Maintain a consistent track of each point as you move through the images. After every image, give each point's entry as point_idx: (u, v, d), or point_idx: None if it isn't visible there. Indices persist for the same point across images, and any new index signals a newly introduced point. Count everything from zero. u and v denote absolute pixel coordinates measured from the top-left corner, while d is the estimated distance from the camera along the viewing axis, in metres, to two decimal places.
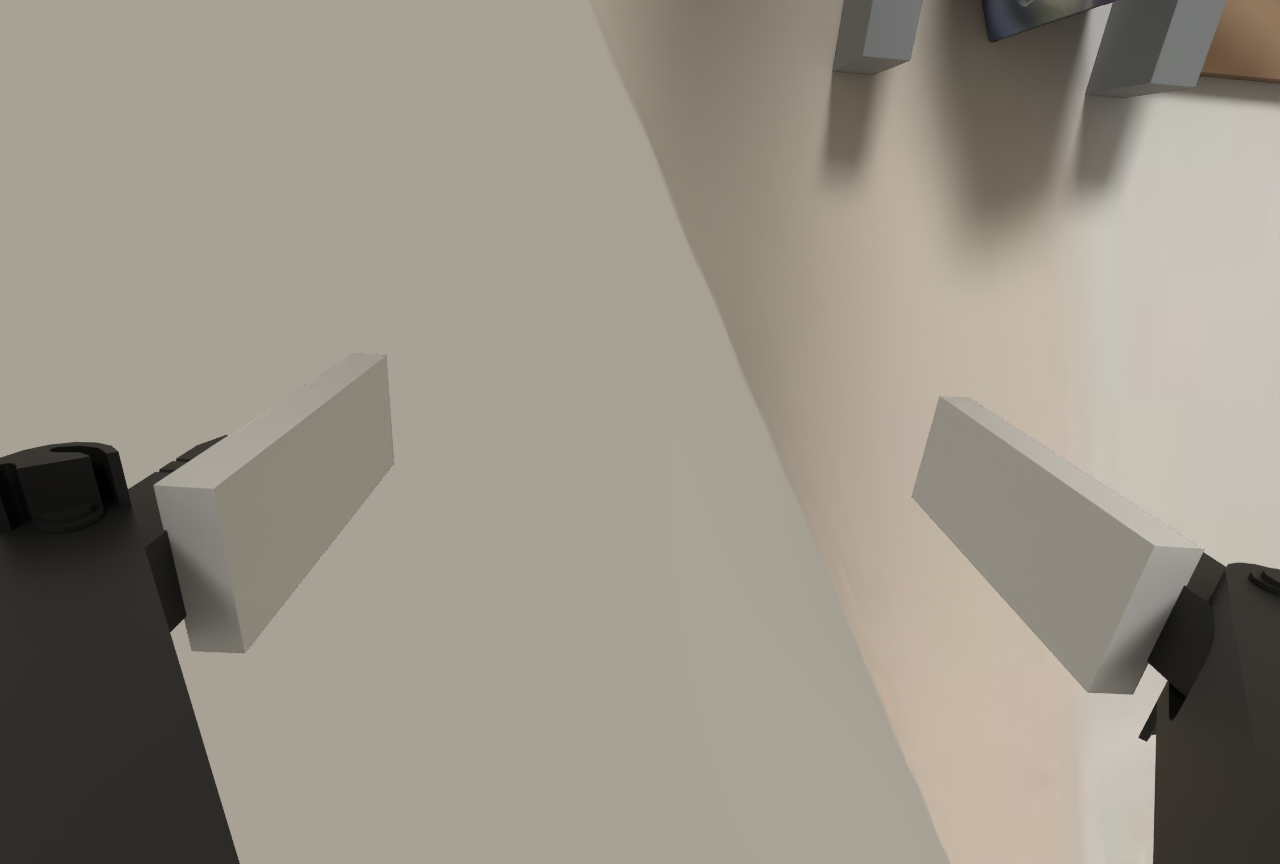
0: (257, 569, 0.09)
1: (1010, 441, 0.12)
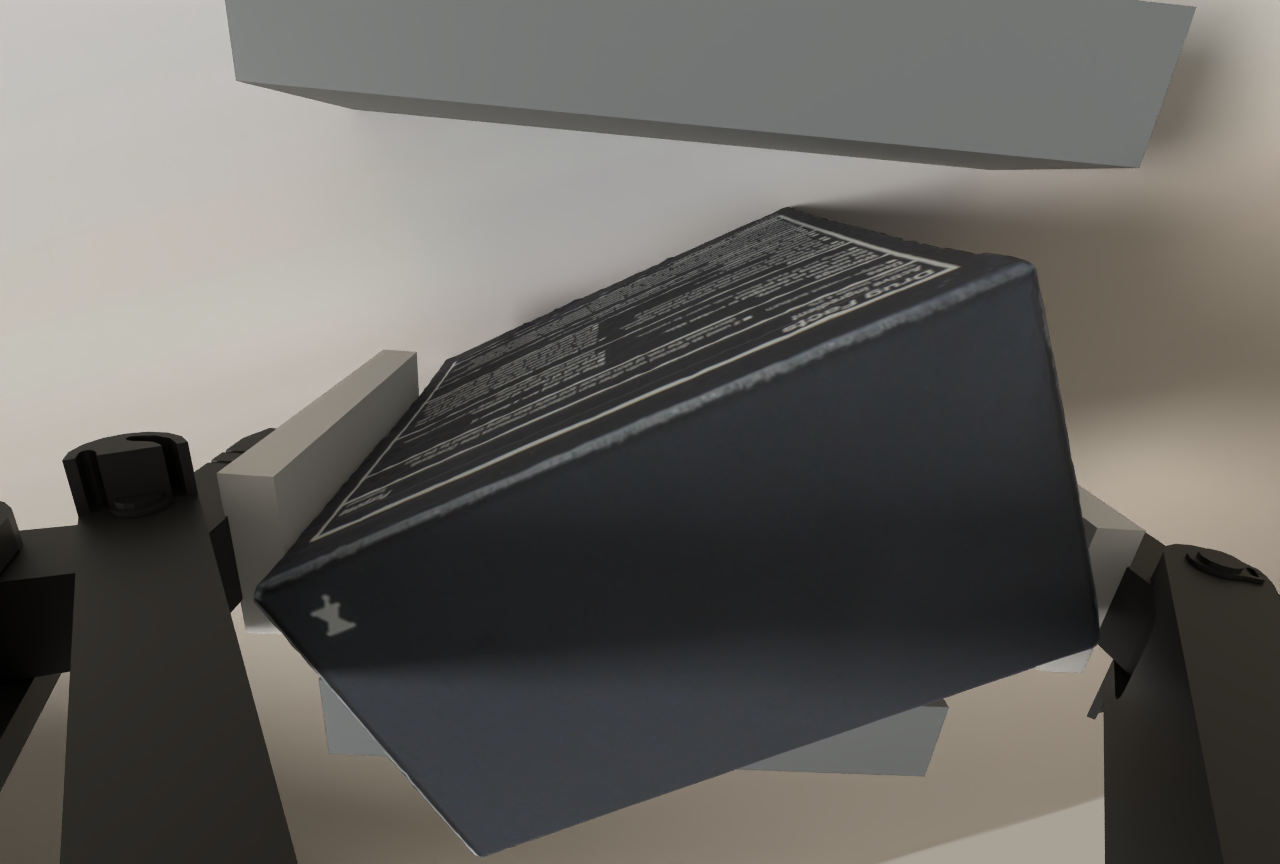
0: None
1: None
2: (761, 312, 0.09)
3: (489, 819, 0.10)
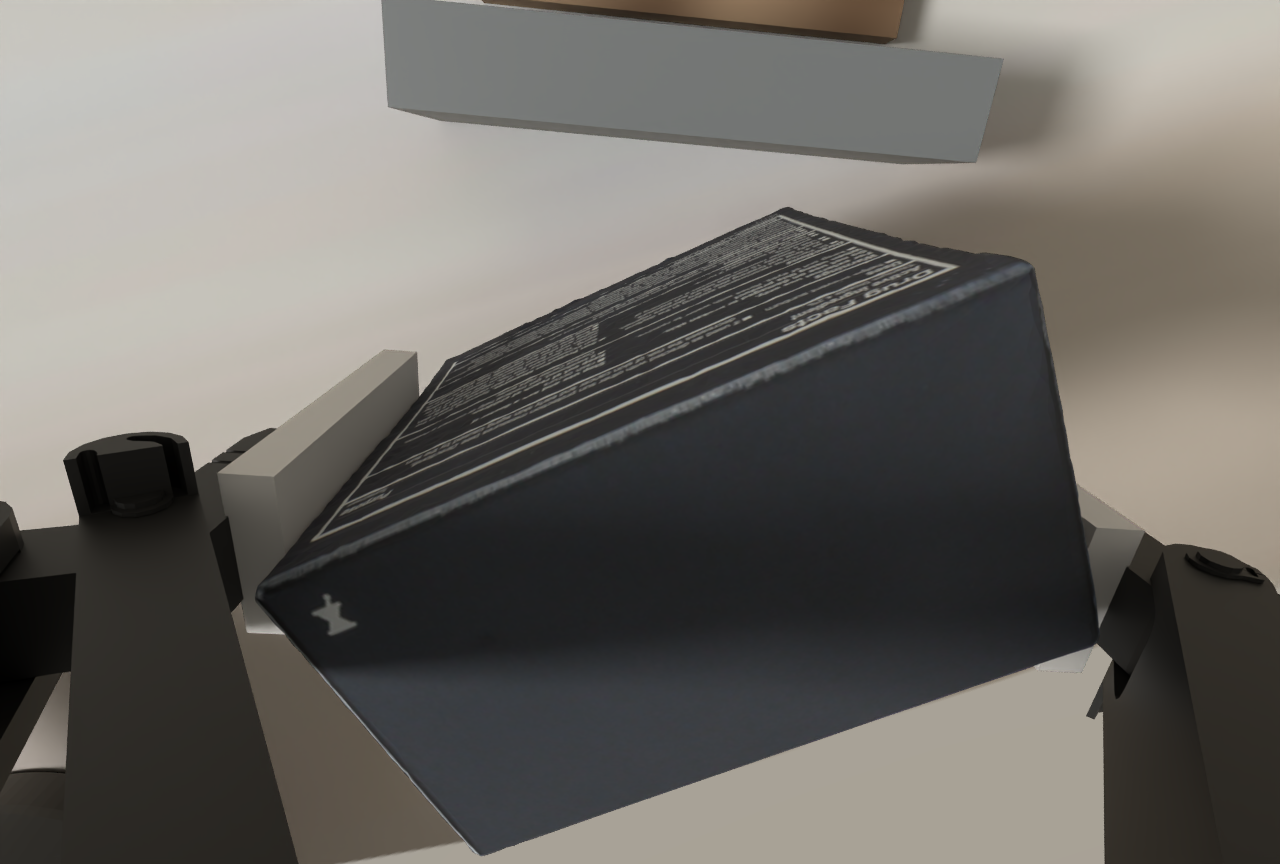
0: None
1: None
2: (761, 311, 0.09)
3: (490, 818, 0.10)
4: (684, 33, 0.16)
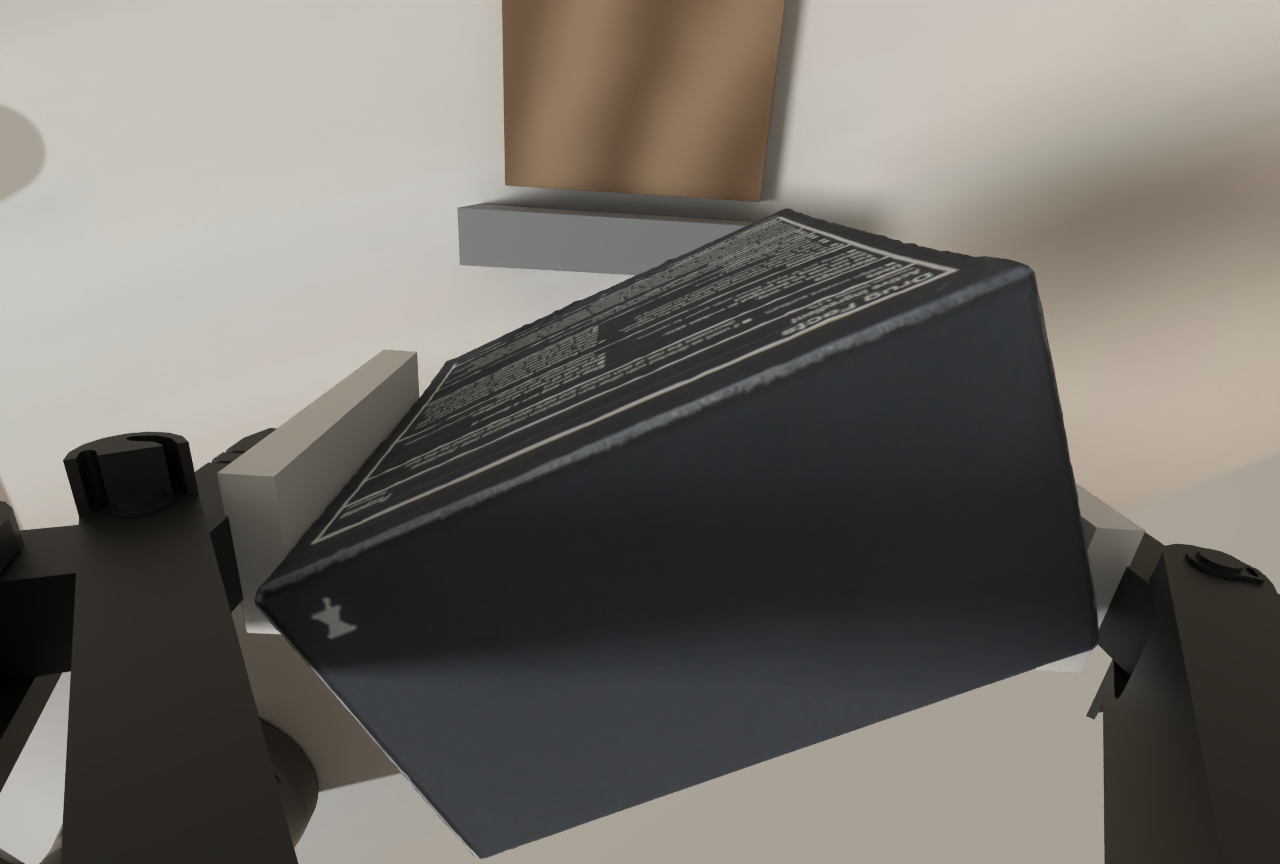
0: None
1: None
2: (760, 314, 0.09)
3: (490, 821, 0.10)
4: (626, 222, 0.29)
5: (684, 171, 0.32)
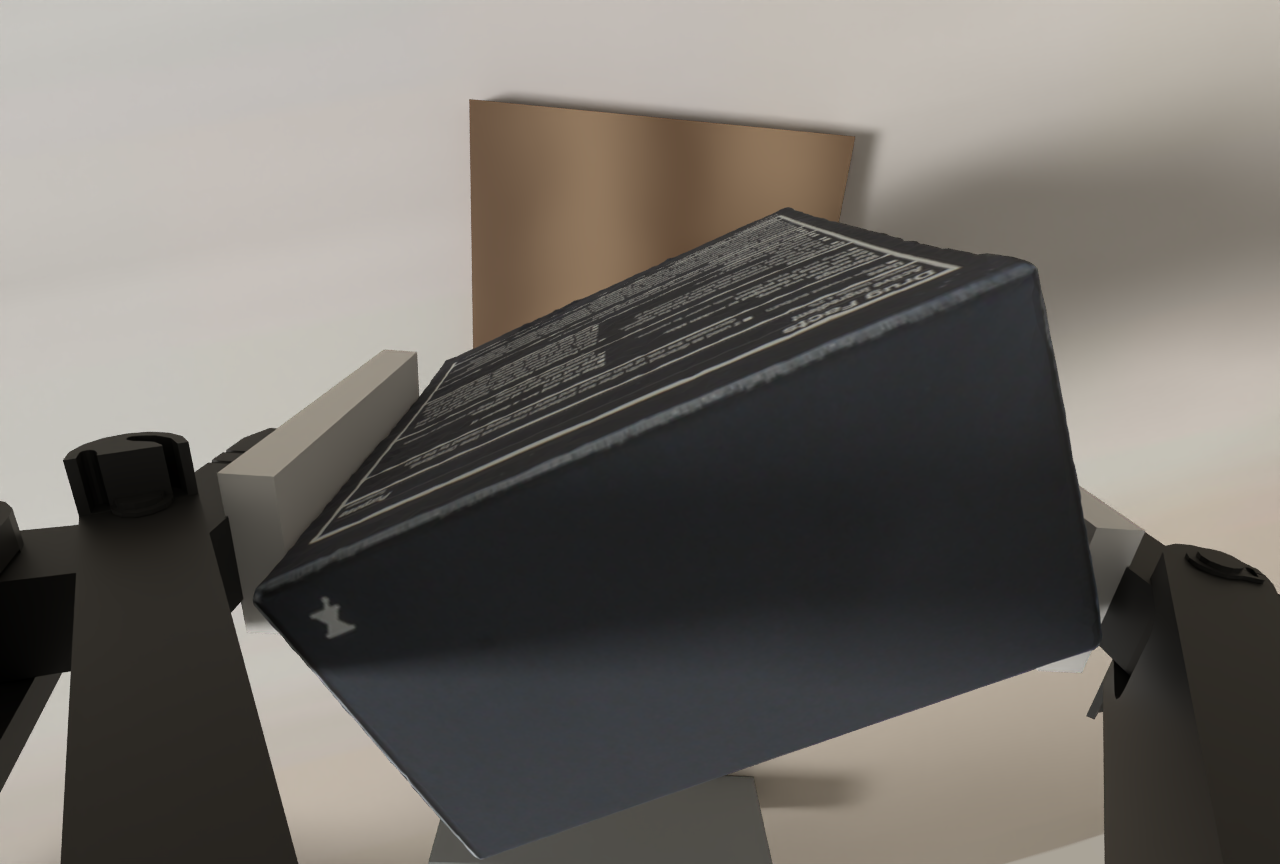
0: None
1: None
2: (762, 312, 0.09)
3: (489, 821, 0.10)
4: None
5: None
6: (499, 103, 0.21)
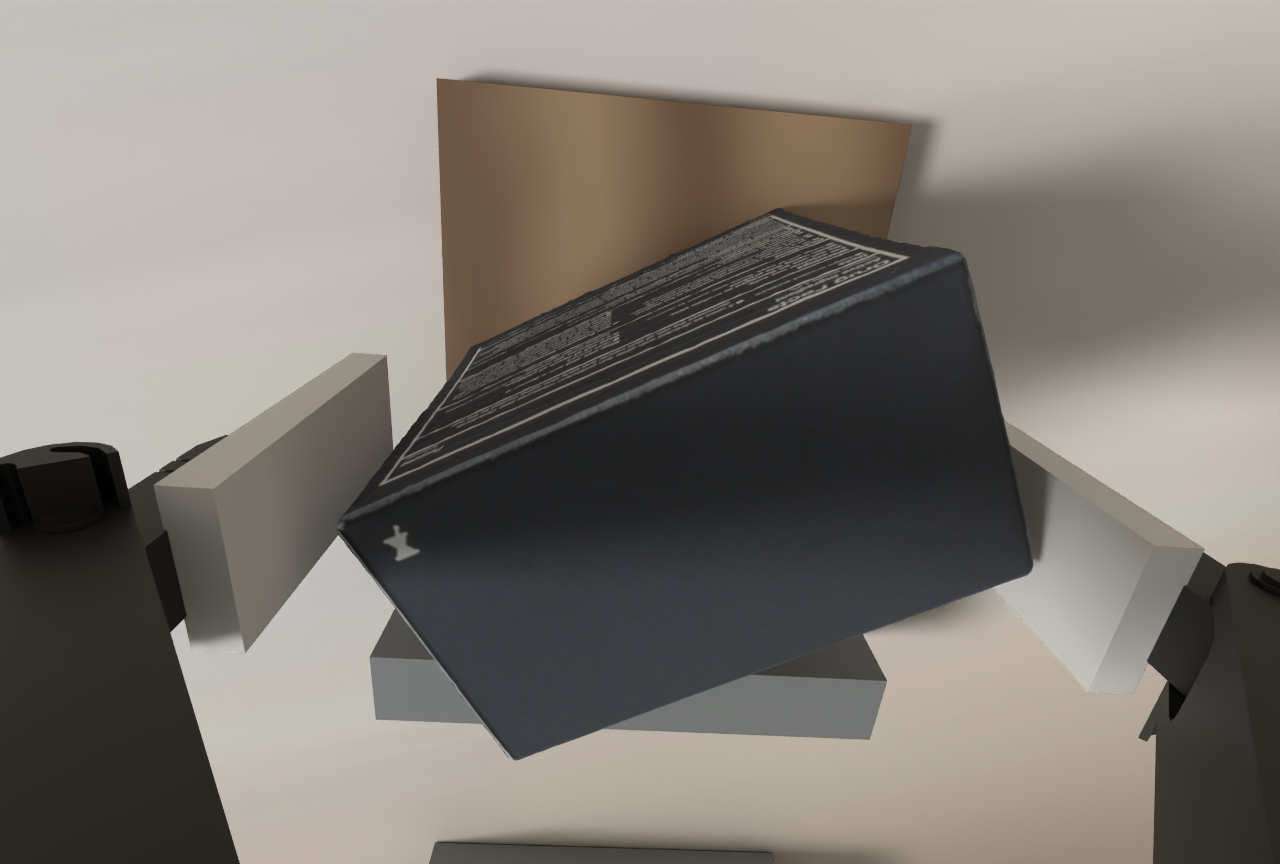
0: (257, 569, 0.09)
1: (1010, 441, 0.12)
2: (752, 296, 0.11)
3: (523, 725, 0.12)
4: None
5: None
6: (473, 83, 0.17)
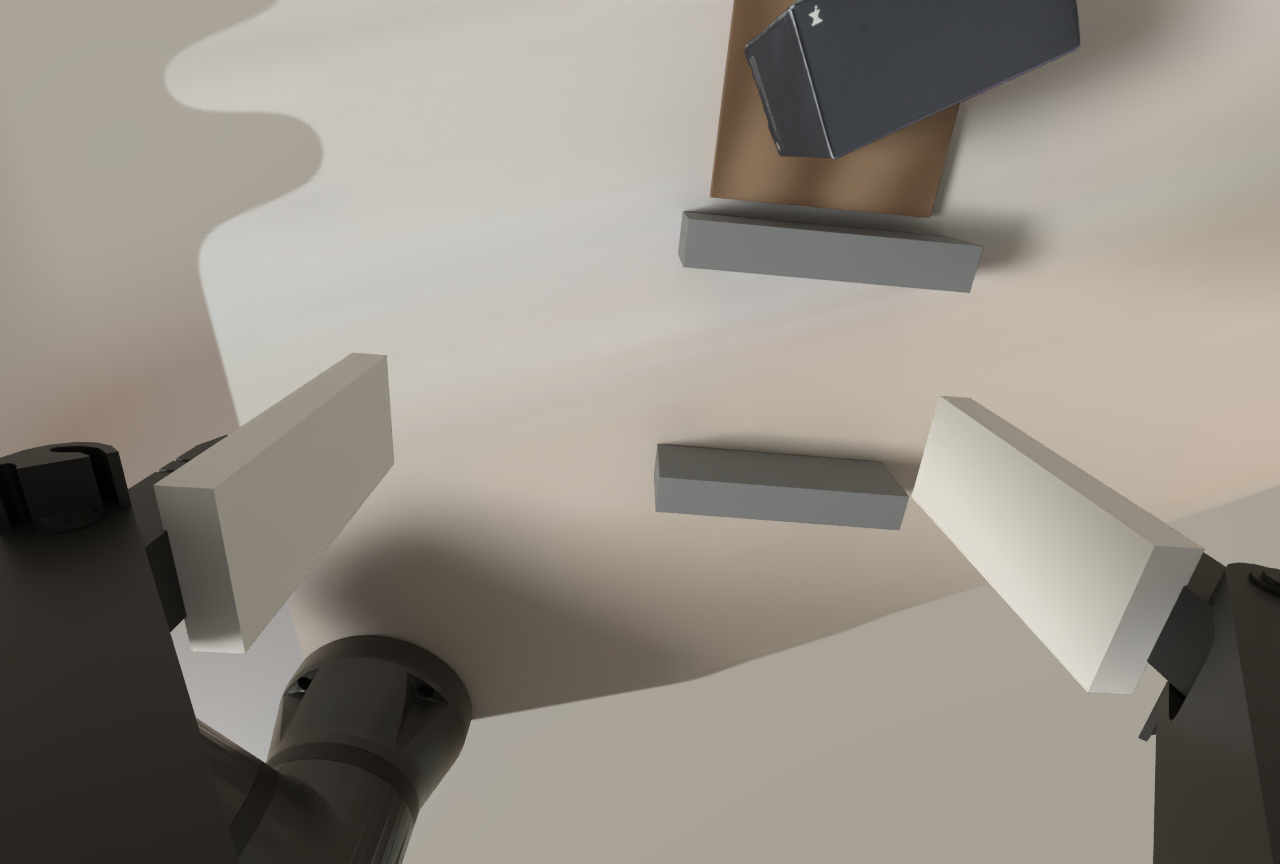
0: (257, 569, 0.09)
1: (1010, 441, 0.12)
2: None
3: (843, 132, 0.26)
4: (829, 235, 0.34)
5: (867, 189, 0.37)
6: None
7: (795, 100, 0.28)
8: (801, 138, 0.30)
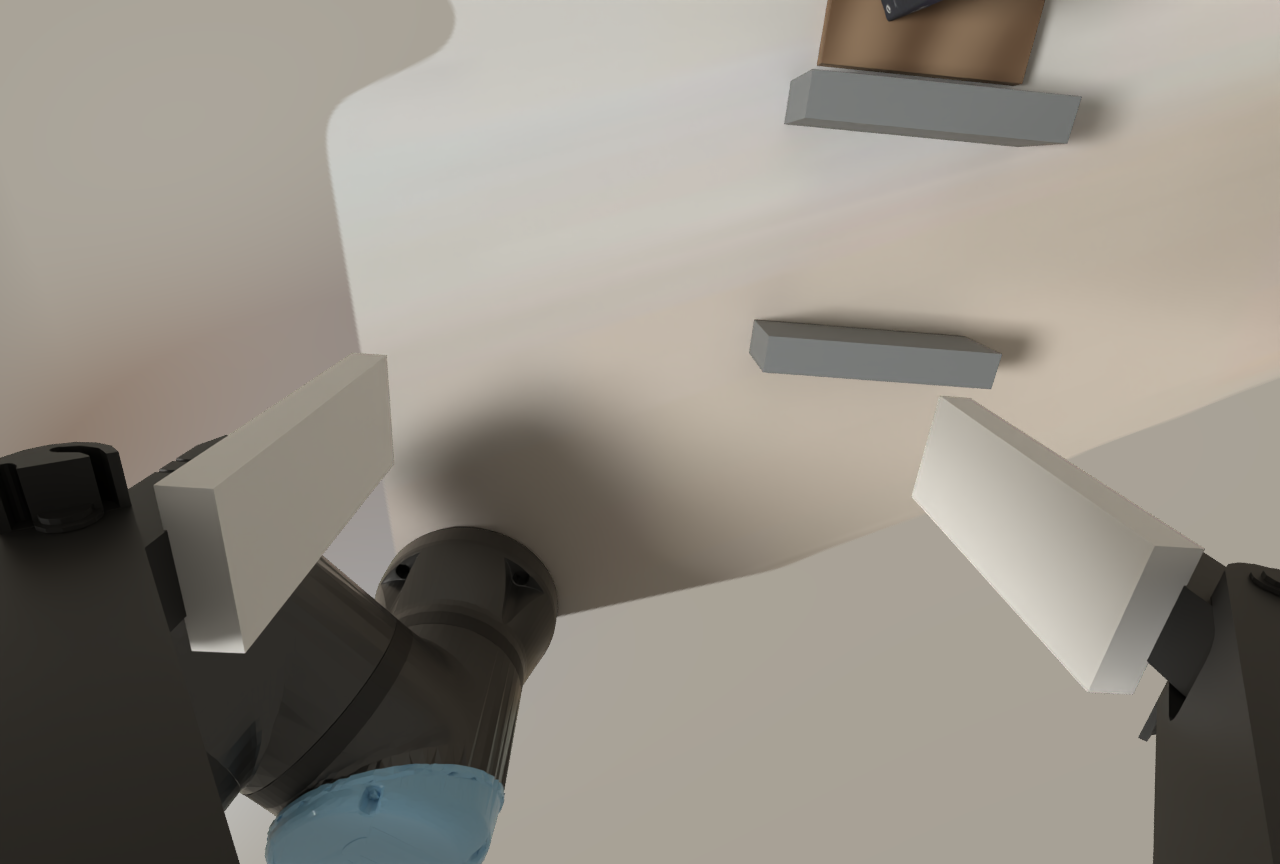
0: (257, 569, 0.09)
1: (1010, 441, 0.12)
2: None
3: None
4: (941, 85, 0.36)
5: (966, 55, 0.39)
6: None
7: None
8: None
